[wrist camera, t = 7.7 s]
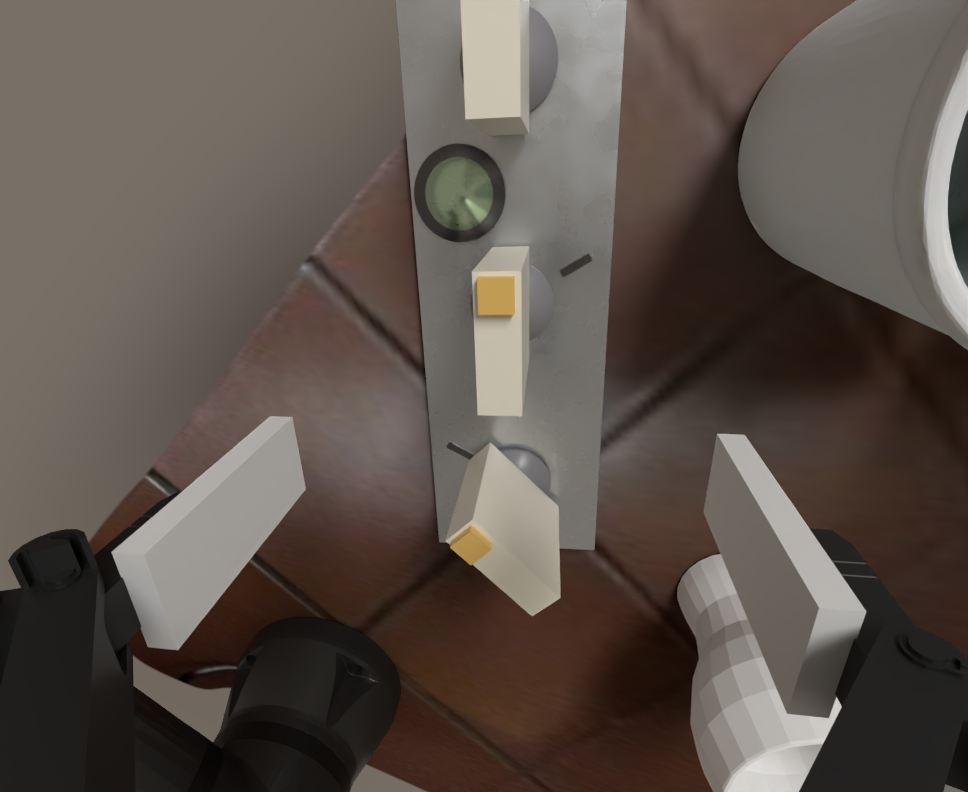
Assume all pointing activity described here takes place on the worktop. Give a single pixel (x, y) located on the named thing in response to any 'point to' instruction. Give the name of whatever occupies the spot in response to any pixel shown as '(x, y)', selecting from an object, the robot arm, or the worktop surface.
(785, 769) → the cup
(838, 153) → the utensil holder
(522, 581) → the slab with yellow pad
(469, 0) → the cream slab
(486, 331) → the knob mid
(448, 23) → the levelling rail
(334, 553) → the worktop surface
